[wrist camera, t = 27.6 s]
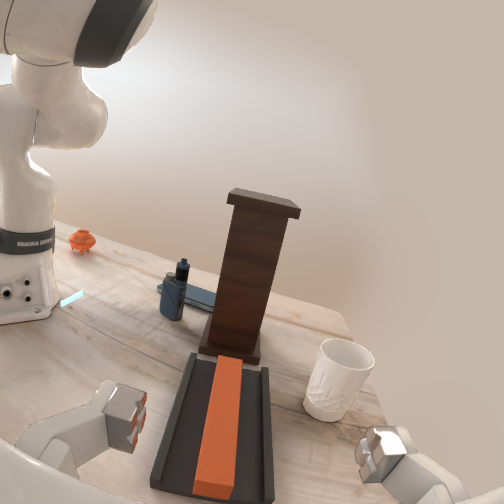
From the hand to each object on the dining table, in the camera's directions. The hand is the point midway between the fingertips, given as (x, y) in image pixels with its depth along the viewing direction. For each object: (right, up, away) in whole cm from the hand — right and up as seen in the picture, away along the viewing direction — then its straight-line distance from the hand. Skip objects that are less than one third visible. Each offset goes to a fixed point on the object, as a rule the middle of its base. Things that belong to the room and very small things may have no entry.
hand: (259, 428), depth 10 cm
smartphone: (-14, -4, +59) cm, 61 cm away
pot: (-48, +6, +69) cm, 84 cm away
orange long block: (-4, -14, +24) cm, 28 cm away
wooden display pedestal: (-4, -10, +45) cm, 47 cm away
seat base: (-4, -15, +25) cm, 30 cm away
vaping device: (-16, -6, +49) cm, 52 cm away
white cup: (+10, -17, +32) cm, 37 cm away
